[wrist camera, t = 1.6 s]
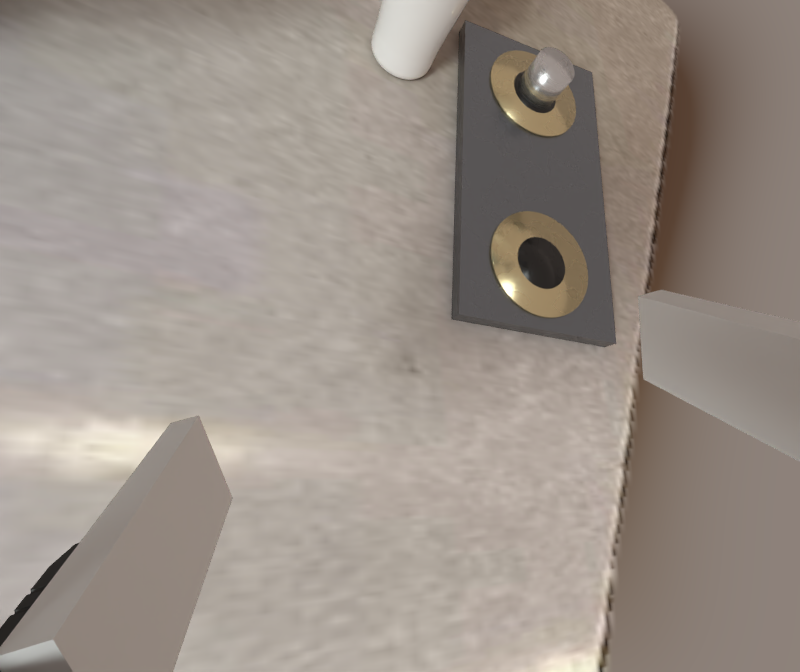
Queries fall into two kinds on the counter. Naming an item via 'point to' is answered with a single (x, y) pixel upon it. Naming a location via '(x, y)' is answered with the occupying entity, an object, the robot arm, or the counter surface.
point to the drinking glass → (412, 34)
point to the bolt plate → (528, 194)
